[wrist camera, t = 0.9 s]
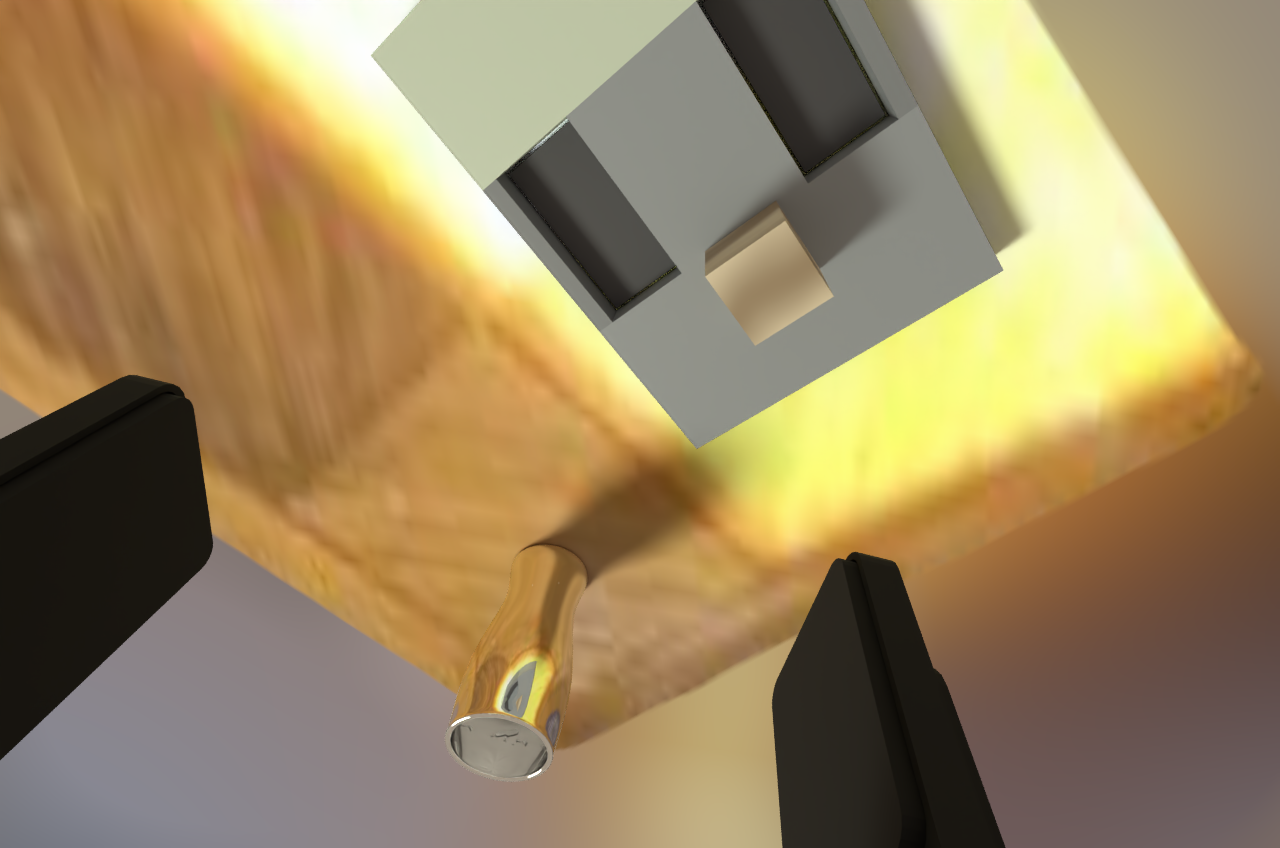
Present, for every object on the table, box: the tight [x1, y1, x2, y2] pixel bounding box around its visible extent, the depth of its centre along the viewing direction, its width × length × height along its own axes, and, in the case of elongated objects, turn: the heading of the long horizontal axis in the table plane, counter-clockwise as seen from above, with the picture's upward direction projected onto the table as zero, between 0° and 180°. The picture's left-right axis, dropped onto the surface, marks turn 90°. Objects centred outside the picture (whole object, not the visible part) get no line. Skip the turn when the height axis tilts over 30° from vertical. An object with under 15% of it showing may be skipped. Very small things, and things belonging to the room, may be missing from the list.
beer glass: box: [445, 544, 588, 781], centre depth 45 cm, size 7×7×15 cm
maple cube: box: [705, 201, 834, 346], centre depth 34 cm, size 4×4×4 cm
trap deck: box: [371, 0, 1003, 449], centre depth 34 cm, size 28×20×2 cm
